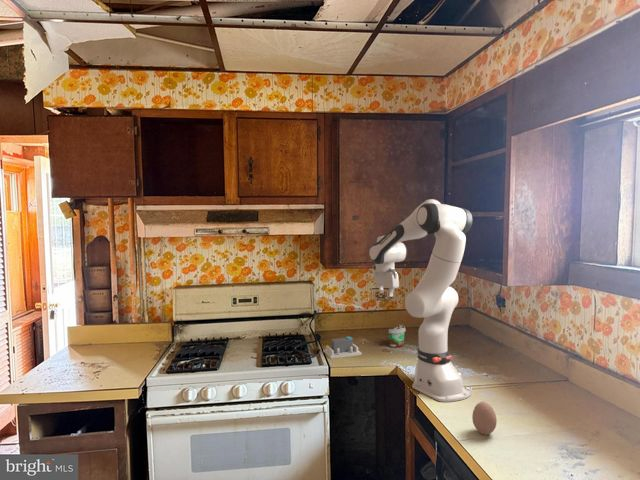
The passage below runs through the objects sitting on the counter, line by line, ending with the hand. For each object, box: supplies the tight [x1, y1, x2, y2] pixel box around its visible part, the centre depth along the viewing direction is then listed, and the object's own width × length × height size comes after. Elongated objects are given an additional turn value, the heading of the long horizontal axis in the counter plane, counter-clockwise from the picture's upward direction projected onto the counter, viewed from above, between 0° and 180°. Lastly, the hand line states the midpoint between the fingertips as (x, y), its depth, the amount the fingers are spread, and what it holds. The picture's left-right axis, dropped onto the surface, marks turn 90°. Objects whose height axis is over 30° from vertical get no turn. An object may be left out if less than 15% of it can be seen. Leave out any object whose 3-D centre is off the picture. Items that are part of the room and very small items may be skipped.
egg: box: [471, 401, 498, 436], centre depth 118 cm, size 7×7×10 cm
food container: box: [388, 323, 407, 349], centre depth 204 cm, size 12×6×10 cm, turn 143°
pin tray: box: [322, 343, 363, 360], centre depth 195 cm, size 12×16×4 cm
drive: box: [330, 335, 354, 354], centre depth 195 cm, size 4×10×6 cm, turn 108°
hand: (386, 294), depth 194 cm, fingers open, 8 cm apart
